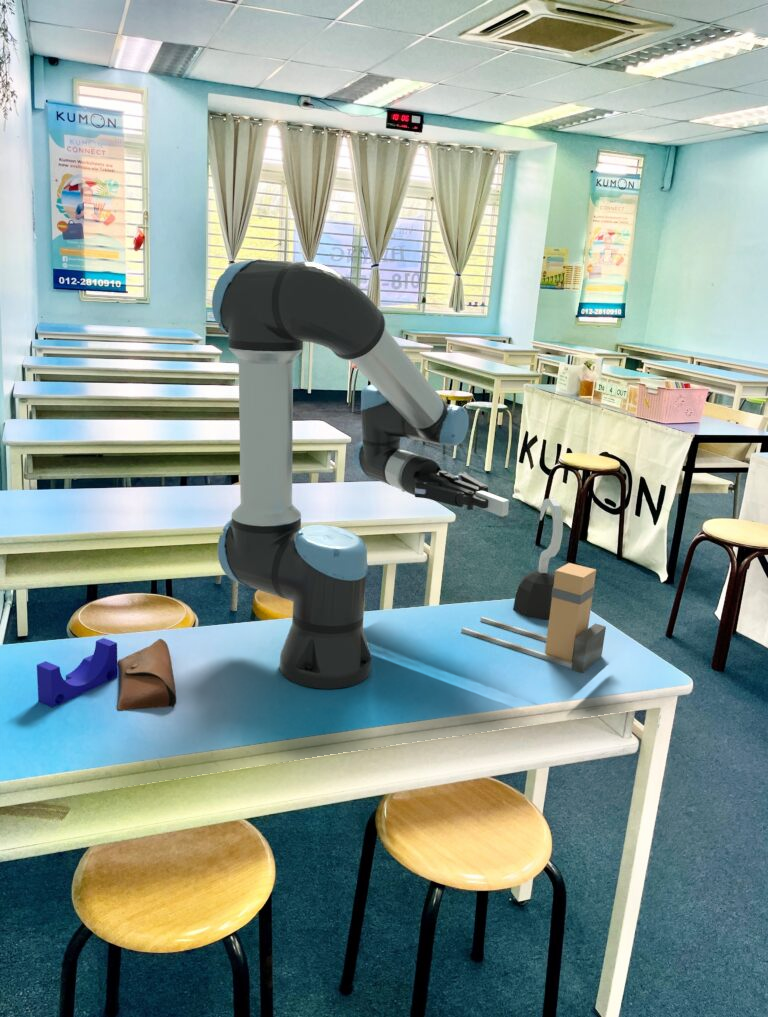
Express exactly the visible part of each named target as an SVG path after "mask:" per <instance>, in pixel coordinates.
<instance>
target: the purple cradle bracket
mask: <svg viewBox="0 0 768 1017" xmlns="http://www.w3.org/2000/svg"><path fill="white" fill-rule="evenodd" d="M94 646H95V647H94V651H93V654H91V655H88V656H86V657H84V658H83V659H82V661H81V662H80V663H79V665H78V666H77V667H76V668H74V669H73V670H72V671H71V672H69V673H67V674H66V675H65V679H64V678H63V676H62V674H61V668H60V667H61V666H59V665H57V664H54V663H51V662H48V661H42V662H41V663H38V664H36V677H37V678H36V680H37V682H36V683H37V698H38V699H37V701H38V703H40V704H43V705H45V706H47V707H49V708H51V709H52V708H54V707H56V706H59V705H61V704H64V703H65V702H68V701H69V700H72V699H75V698H76V697H78V696H81V695H83V694H85V693H87V692H89V691H91V690H93V689H95V688H98V687H101V686H102V685H104V684H106V683H109V682H110V681H113V680H115V679H117V678H118V671H119V670H118V642H115V641H113V640H111V639H107V638H106V637H102V638H100V639H98V640H95V645H94Z"/></svg>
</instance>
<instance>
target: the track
mask: <svg viewBox="0 0 768 1017" xmlns="http://www.w3.org/2000/svg"><path fill="white" fill-rule="evenodd" d="M480 622H482V623H485V624H488V625H490V626H491V625H492V626H494V627H498V628H501V629H504V630H507V631H510V632H514V633H517V634H520V635H523V636H525V637H529V638H533V639H535V640H539V641H542V642H545V643H546V641H547V635H542V634H540V633H537V632H533V631H530V630H526V629H523V628H520V627H517V626H514V625H511V624H507V623H504V622H501V621H497V620H494V619H491V618H487V617H484V616H481V617H480ZM606 629H607V626H605V625H603V624H602V625H601V624H599V623H598V624H597V623H594V624H593V625H591V626H590V627H588V629H587V630H586V631H584V632H583V633H582V634H581V635H579V636H578V637H577V638H576V639H575V646H574V654H573V661H572V662H569V661H566V660H563V659H560V658H557V657H554V656H550V655H547V654H545V652H541V651H539V650H535V649H532V648H529V647H525V646H522V645H519V644H516V643H513V642H510V641H507V640H504V639H501V638H497V637H494V636H491V635H489V634H485V633H482V632H479V631H476V630H473V629H470V628H468V627H461V629H460V632H461V633H463V634H466V635H469V636H472V637H474V638H479V639H481V640H484V641H487V642H491V643H493V644H497V645H499V646H502V647H505V648H509V649H512V650H515V651H517V652H520V653H523V654H527V655H530V656H532V657H535V658H539V659H543V660H545V661H548V662H551V663H554V664H557V665H560V666H564V667H566V668H570V669H571V670H572V671H575V672H578V673H581V674H583V673H584V672H586V671H587V670H588V669H589V668H591V666H593V665H594V664H595V662H597V661H598V660H599V659H601V658H602V656H603V649H604V643H605V635H606Z"/></svg>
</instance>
